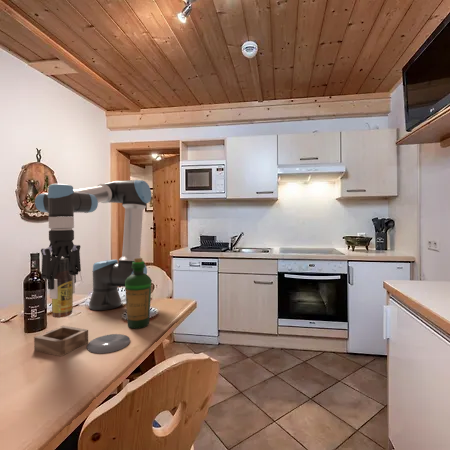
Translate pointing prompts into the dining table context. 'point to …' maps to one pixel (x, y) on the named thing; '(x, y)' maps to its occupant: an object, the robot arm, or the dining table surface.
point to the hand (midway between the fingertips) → (62, 295)
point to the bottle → (138, 296)
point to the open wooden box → (61, 340)
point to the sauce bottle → (63, 291)
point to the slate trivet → (108, 343)
